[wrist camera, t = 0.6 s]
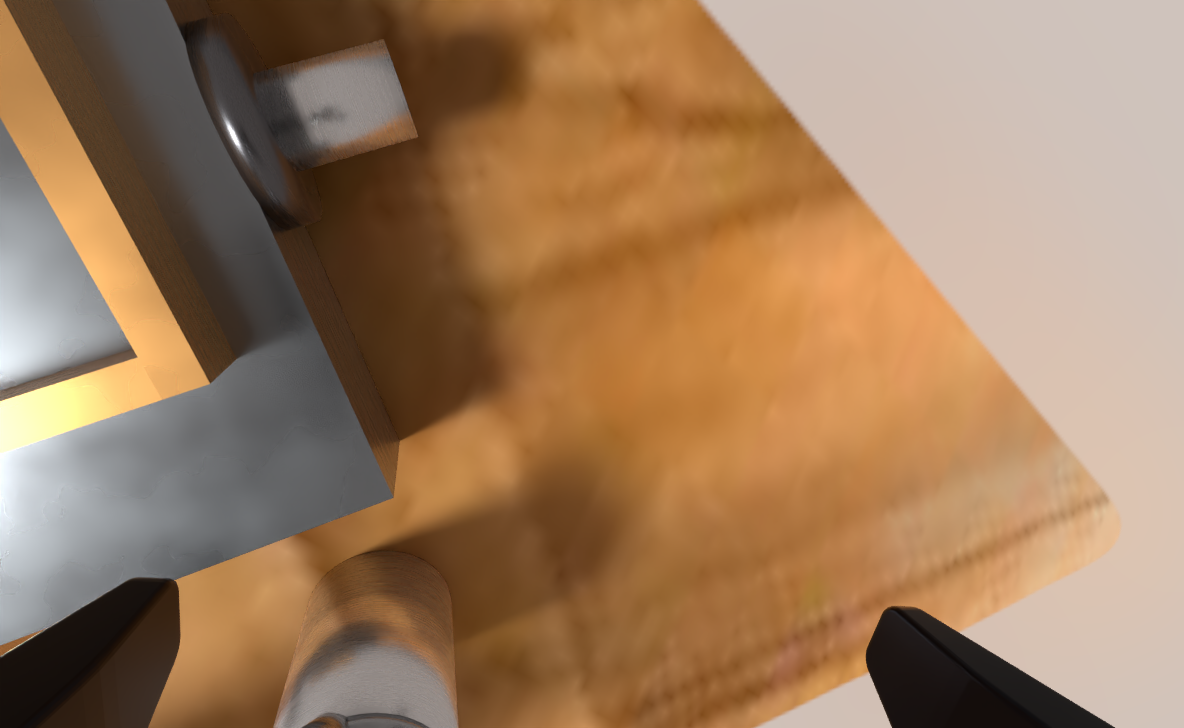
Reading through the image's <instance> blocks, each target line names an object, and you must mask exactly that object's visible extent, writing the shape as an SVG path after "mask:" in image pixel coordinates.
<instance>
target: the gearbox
mask: <svg viewBox="0 0 1184 728" xmlns="http://www.w3.org/2000/svg"><path fill="white" fill-rule="evenodd" d="M417 137H418V134H417V131H416V128H415V125H414V122H413V119H412V116H411V113H410V111H409V108H408V105H407V102H406V99H405V96H404V94H403V91H402V88H401V85H400V82H399V80H398V77H397V74H396V71H395V68H394V66H393V63H392V60H391V57H390V55H389V52H388V49H387V46H386V44H385V41H384V39H382V40H378V41H374V42H371V43H367V44H363V45H359V46H355V47H351V48H348V49H344V50H340V51H336V52H332V53H329V54H325V55H321V56H317V57H313V58H309V59H306V60H302V61H298V62H294V63H290V64H287V65H283V66H279V67H275V68H271V69H267V67H266V65H265V64H264V62H263V60H262V58H261V56H260V55H259V53H258V51H257V50H256V48H255V46H254V45H253V43H252V42H251V40H250V38H249V37H248V35H247V34H246V32H245V31H244V30H243V28H242V27H241V26H240V24H239V23H238V22H237V21H236V20H235V19H234V18H233V17H232V16H231V15H230V14H228V13H221V14H217V15H213V14H212V12H211V10H210V7H209V5H208V3H207V0H0V645H3V644H5V643H8V642H11V641H13V640H16V639H19V638H21V637H24V636H27V635H29V634H32V633H35V632H37V631H40V630H43V629H45V628H48V627H50V626H52V625H53V624H55V623H57V622H58V621H60V620H62V619H63V618H65V617H67V616H68V615H70V614H72V613H73V612H75V611H77V610H78V609H80V608H81V607H83V606H85V605H86V604H88V603H90V602H91V601H93V600H95V599H96V598H98V597H100V596H101V595H103V594H105V593H106V592H108V591H110V590H111V589H113V588H115V587H116V586H118V585H120V584H121V583H123V582H125V581H127V580H129V579H131V578H135V577H153V578H170V579H173V580H176V579H178V578H181V577H184V576H186V575H189V574H192V573H194V572H197V571H200V570H202V569H205V568H208V567H210V566H213V565H216V564H218V563H221V562H224V561H226V560H229V559H232V558H234V557H237V556H240V555H242V554H245V553H248V552H250V551H253V550H256V549H258V548H261V547H264V546H266V545H269V544H272V543H274V542H277V541H280V540H282V539H285V538H288V537H290V536H293V535H295V534H298V533H301V532H303V531H306V530H309V529H311V528H314V527H317V526H319V525H322V524H325V523H327V522H330V521H333V520H335V519H338V518H341V517H343V516H346V515H349V514H351V513H354V512H357V511H359V510H362V509H365V508H367V507H370V506H373V505H375V504H378V503H381V502H383V501H386V500H389V499H391V498H394V489H395V479H396V470H397V461H398V452H399V442H400V441H399V439H398V437H397V434H396V432H395V430H394V428H393V425H392V423H391V421H390V418H389V416H388V414H387V412H386V409H385V407H384V405H383V402H382V400H381V398H380V396H379V393H378V391H377V389H376V386H375V384H374V382H373V380H372V377H371V375H370V373H369V370H368V368H367V366H366V364H365V361H364V359H363V357H362V354H361V352H360V350H359V348H358V345H357V343H356V341H355V338H354V336H353V334H352V332H351V329H350V327H349V325H348V322H347V320H346V318H345V316H344V313H343V311H342V309H341V306H340V304H339V302H338V300H337V297H336V295H335V293H334V291H333V288H332V286H331V284H330V281H329V279H328V277H327V275H326V272H325V270H324V268H323V265H322V263H321V261H320V259H319V256H318V254H317V252H316V249H315V247H314V245H313V243H312V240H311V238H310V236H309V233H308V231H307V229H306V227H305V225H308V224H311V223H314V222H318V221H320V220H321V218H322V206H321V200H320V196H319V192H318V188H317V184H316V181H315V178H314V175H313V172H312V169H311V168H313V167H317V166H320V165H324V164H327V163H330V162H334V161H337V160H341V159H344V158H348V157H351V156H355V155H358V154H362V153H365V152H369V151H372V150H376V149H379V148H382V147H386V146H389V145H393V144H396V143H400V142H403V141H407V140H410V139H414V138H417Z"/></svg>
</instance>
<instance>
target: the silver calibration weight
mask: <svg viewBox="0 0 1184 728" xmlns="http://www.w3.org/2000/svg"><path fill="white" fill-rule="evenodd" d="M273 728H458V711H457V693H456V675H455V658H454V640H453V622H452V604H451V595H450V591H449V588H448V585H447V583H446V581H445V580H444V578H443V577H442V575H441V574H440V573H439V572H438V571H437V570H436V569H435V568H434V567H433V566H432V565H430V564H429V563H428V562H426V561H424V560H423V559H421V558H419V557H416V556H413V555H411V554H407V553H403V552H396V551H376V552H370V553H365V554H361V555H358V556H355V557H352V558H350V559H348V560H346V561H344V562H342V563H340V564H339V565H337V566H336V567H334V568H333V569H332V570H330V571H329V572H328V573H327V574H326V575H325V576H324V577H323V578H322V579H321V580H320V582H319V583H318V584H317V585H316V587H315V589H314V591H313V592H312V595H311V597H310V600H309V603H308V606H307V610H306V613H305V617H304V620H303V624H302V627H301V631H300V634H299V638H298V641H297V645H296V648H295V652H294V655H293V659H292V663H291V666H290V670H289V673H288V677H287V680H286V684H285V687H284V691H283V694H282V698H281V701H280V705H279V708H278V712H277V715H276V719H275V722H274V726H273Z"/></svg>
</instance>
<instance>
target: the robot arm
mask: <svg viewBox="0 0 1184 728" xmlns="http://www.w3.org/2000/svg"><path fill="white" fill-rule="evenodd" d="M179 645H180V611H179V590H178V586H177V583H176V582H175V581H174V580H173V579H170V578H153V577H135V578H131V579H129V580H127V581H125V582H123V583H121V584H120V585H118V586H116V587H115V588H113V589H111V590H110V591H108V592H106V593H105V594H103V595H101V596H100V597H98V598H96V599H95V600H93V601H91V602H90V603H88V604H86V605H85V606H83V607H81V608H80V609H78V610H77V611H75V612H73V613H72V614H70V615H68V616H67V617H65V618H63V619H62V620H60V621H58V622H57V623H55V624H53V625H52V626H50V627H48V628H47V629H45V630H43V631H42V632H40V633H38V634H37V635H35V636H33V637H32V638H30V639H28V640H27V641H25V642H23V643H22V644H20V645H18V646H17V647H15V648H13V649H12V650H10V651H8V652H7V653H5V654H3V655H2V656H0V728H148V726H149V723H150V721H151V718H152V716H153V714H154V711H155V709H156V706H157V704H158V701H159V699H160V696H161V694H162V691H163V689H164V687H165V684H166V682H167V679H168V677H169V674H170V672H171V669H172V667H173V665H174V662H175V659H176V656H177V653H178V649H179ZM866 664H867V668H868V671H869V673H870V676H871V678H872V680H873V683H874V685H875V688H876V690H877V693H878V695H879V697H880V700H881V702H882V704H883V707H884V709H885V712H886V714H887V717H888V719H889V721H890V724H891V726H892V728H1115V727H1113V726H1112V725H1110V724H1108V723H1107V722H1105V721H1103V720H1102V719H1100V718H1098V717H1097V716H1095V715H1093V714H1092V713H1090V712H1089V711H1087V710H1085V709H1084V708H1081V707H1080V706H1078V705H1077V704H1075V703H1074V702H1072V701H1070V700H1069V699H1067V698H1065V697H1064V696H1062V695H1061V694H1059V693H1057V692H1056V691H1054V690H1052V689H1051V688H1049V687H1047V686H1045V685H1044V684H1042V683H1041V682H1039V681H1038V680H1036V679H1034V678H1033V677H1031V676H1029V675H1028V674H1026V673H1024V672H1023V671H1021V670H1019V669H1018V668H1016V667H1015V666H1013V665H1011V664H1010V663H1008V662H1006V661H1004V660H1003V659H1001V658H1000V657H998V656H996V655H995V654H993V653H992V652H990V651H988V650H987V649H985V648H983V647H982V646H980V645H978V644H977V643H975V642H973V641H972V640H970V639H968V638H967V637H965V636H964V635H962V634H960V633H959V632H957V631H955V630H954V629H952V628H950V627H949V626H947V625H945V624H944V623H942V622H941V621H939V620H937V619H936V618H934V617H932V616H931V615H929V614H927V613H926V612H924V611H922V610H921V609H918V608H915V607H905V606H891V607H888V608H887V609H886V610H885V611H884V612H883V613H882V615H881V618H880V620H879V622H878V624H877V627H876V629H875V631H874V633H873V636H872V638H871V640H870V642H869V645H868V647H867V650H866Z"/></svg>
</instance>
